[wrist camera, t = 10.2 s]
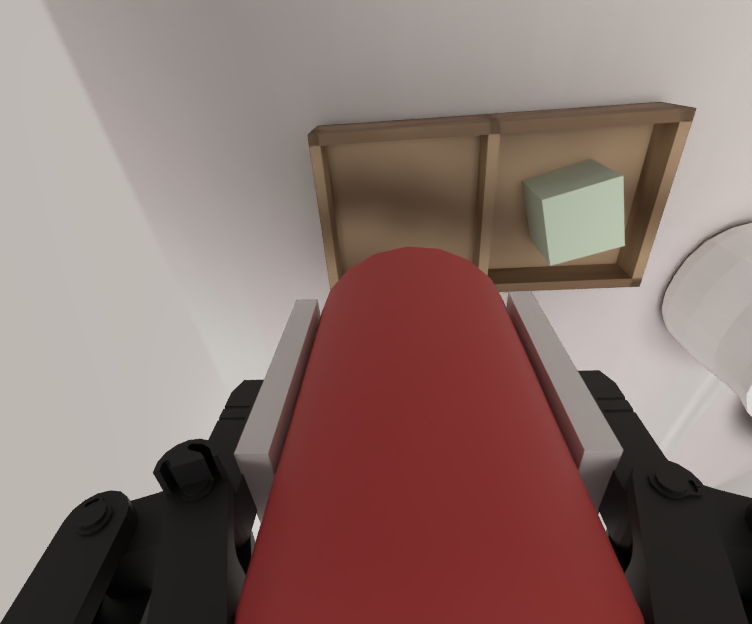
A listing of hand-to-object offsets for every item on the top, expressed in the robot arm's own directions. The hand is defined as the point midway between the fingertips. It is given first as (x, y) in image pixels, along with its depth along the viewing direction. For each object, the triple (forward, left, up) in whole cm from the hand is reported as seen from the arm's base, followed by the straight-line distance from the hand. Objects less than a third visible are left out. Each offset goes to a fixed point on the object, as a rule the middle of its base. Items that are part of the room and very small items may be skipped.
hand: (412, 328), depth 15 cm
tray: (0, +5, -14) cm, 15 cm away
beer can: (0, 0, -1) cm, 1 cm away
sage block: (0, +10, -13) cm, 16 cm away
